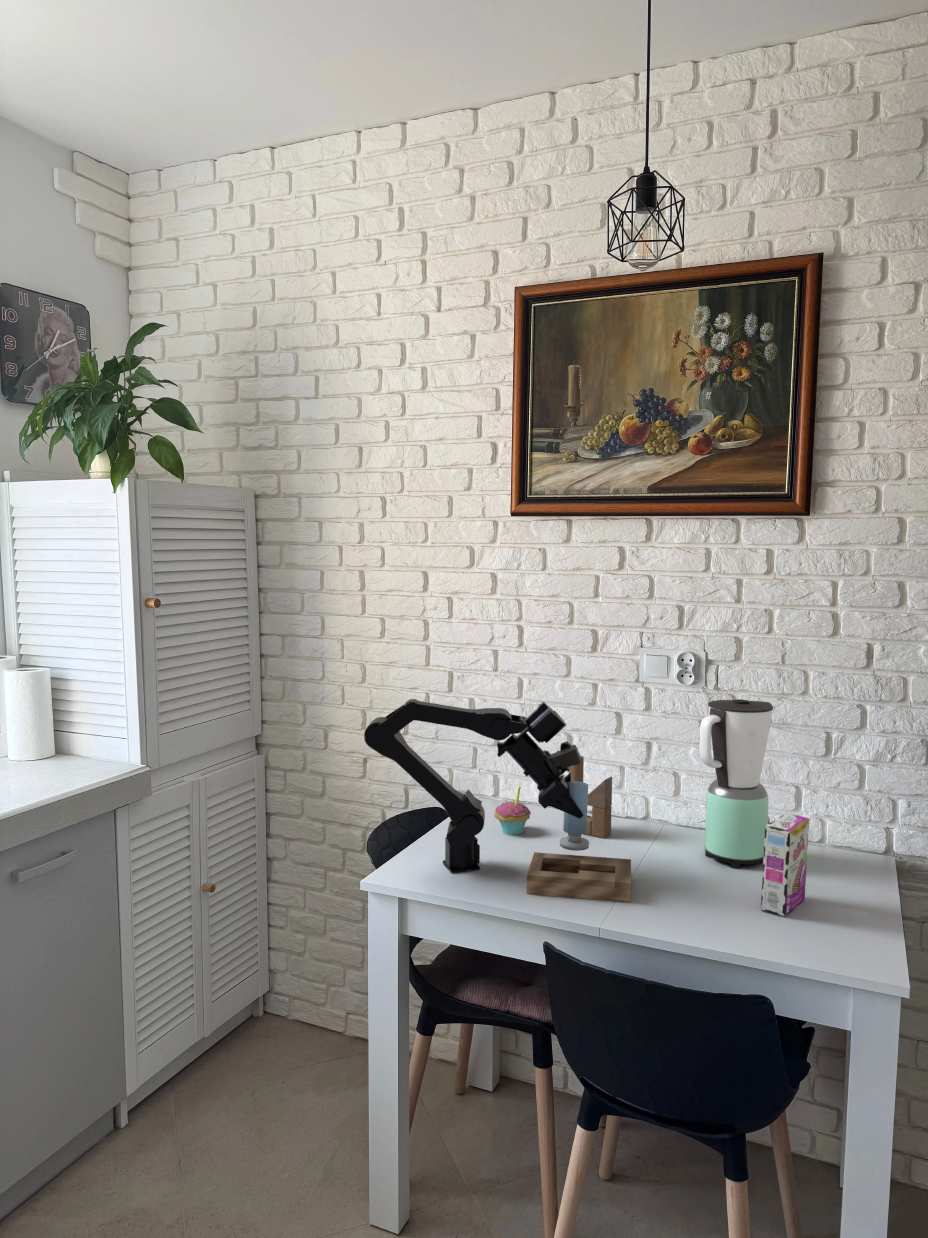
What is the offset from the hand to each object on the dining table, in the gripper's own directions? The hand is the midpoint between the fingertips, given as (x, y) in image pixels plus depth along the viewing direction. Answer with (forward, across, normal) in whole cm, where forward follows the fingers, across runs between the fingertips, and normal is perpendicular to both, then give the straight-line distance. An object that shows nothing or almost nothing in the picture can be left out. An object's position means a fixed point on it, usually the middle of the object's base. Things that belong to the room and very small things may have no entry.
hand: (582, 813), depth 181 cm
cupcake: (-2, +24, +21) cm, 32 cm away
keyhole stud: (+4, 0, +6) cm, 7 cm away
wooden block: (+10, +26, +8) cm, 29 cm away
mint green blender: (+32, +14, -15) cm, 38 cm away
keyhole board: (+9, -7, +9) cm, 15 cm away
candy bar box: (+36, -10, -19) cm, 42 cm away
